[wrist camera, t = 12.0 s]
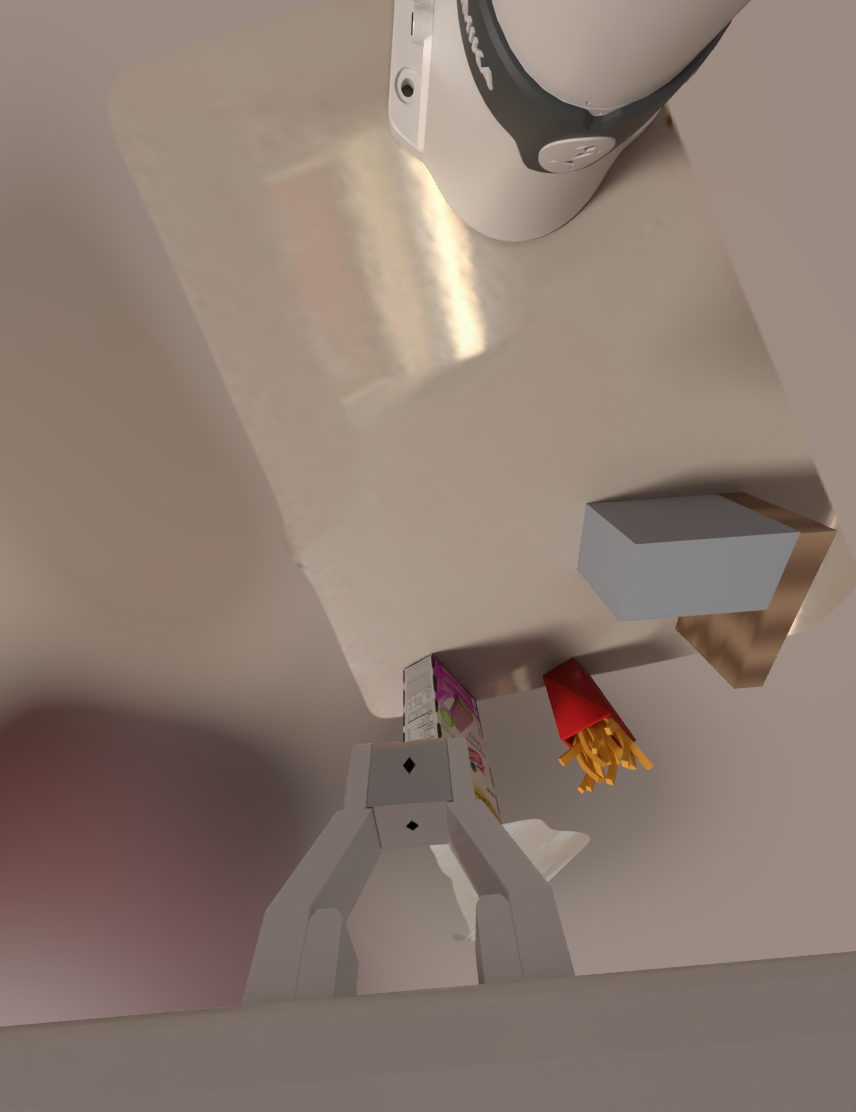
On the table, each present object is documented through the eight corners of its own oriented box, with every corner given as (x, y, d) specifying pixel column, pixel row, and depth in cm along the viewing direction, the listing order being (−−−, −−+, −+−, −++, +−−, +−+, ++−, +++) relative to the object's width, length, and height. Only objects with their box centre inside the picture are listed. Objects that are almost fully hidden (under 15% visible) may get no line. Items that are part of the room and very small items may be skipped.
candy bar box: (478, 699, 53) (505, 827, 39) (448, 714, 55) (463, 844, 40) (432, 650, 49) (443, 774, 34) (401, 668, 50) (399, 795, 36)
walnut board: (716, 494, 41) (802, 533, 32) (744, 492, 41) (837, 530, 32) (675, 628, 49) (734, 688, 40) (698, 626, 49) (762, 686, 40)
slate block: (585, 503, 41) (635, 544, 32) (715, 493, 41) (800, 531, 32) (576, 568, 44) (618, 621, 36) (695, 559, 45) (766, 609, 36)
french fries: (600, 677, 53) (666, 785, 39) (549, 706, 55) (595, 818, 42) (568, 639, 49) (627, 744, 36) (515, 672, 51) (553, 782, 38)
